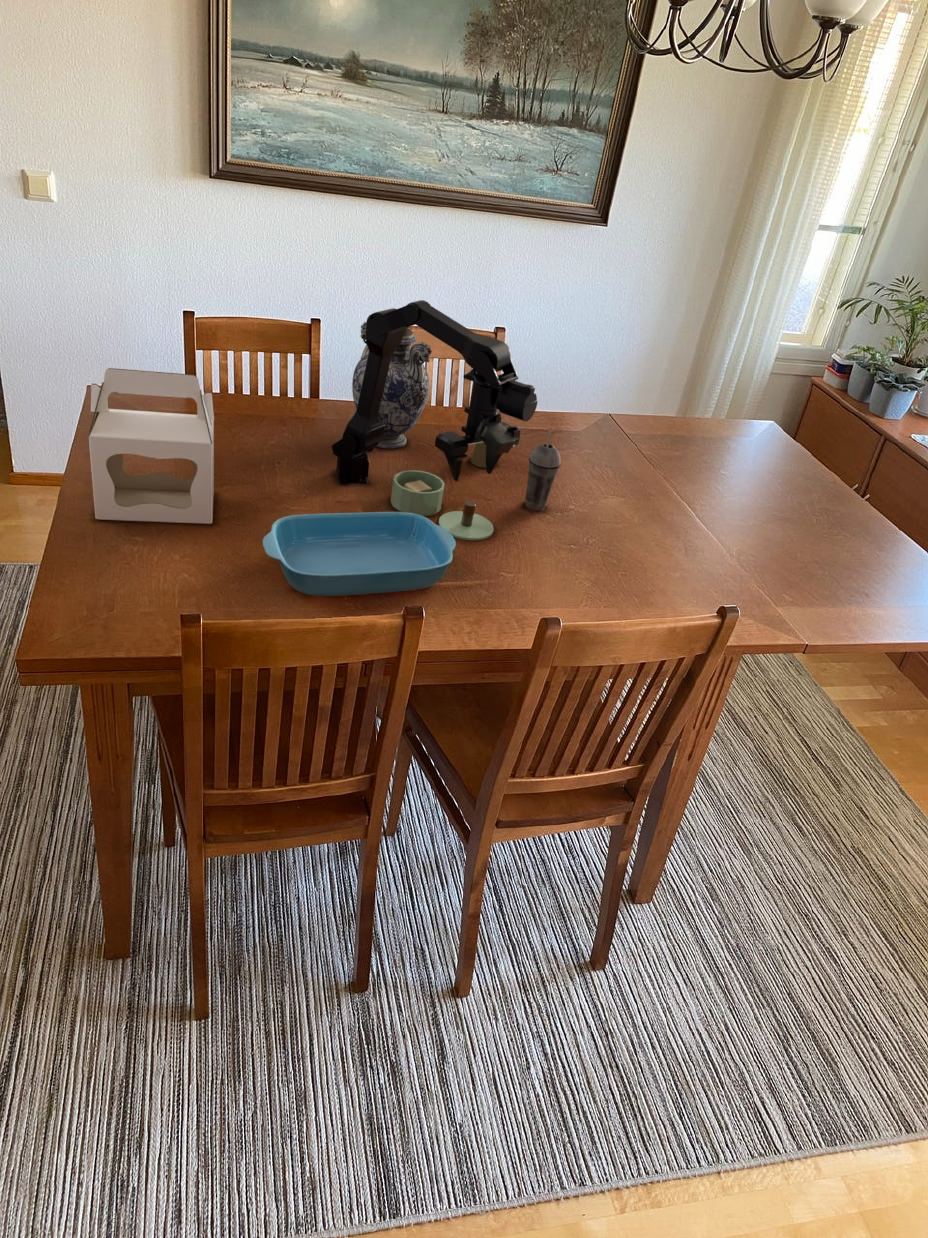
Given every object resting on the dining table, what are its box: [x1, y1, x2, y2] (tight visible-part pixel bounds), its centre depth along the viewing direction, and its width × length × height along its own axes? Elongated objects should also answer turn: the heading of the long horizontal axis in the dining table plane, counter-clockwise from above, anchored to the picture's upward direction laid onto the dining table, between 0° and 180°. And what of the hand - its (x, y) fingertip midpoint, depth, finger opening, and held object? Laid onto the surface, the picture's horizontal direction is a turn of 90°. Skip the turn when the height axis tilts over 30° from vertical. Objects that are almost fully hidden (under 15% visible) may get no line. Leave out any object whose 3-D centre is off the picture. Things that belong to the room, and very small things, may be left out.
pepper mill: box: [470, 442, 486, 469], centre depth 221 cm, size 6×6×11 cm
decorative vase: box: [351, 321, 433, 450], centre depth 218 cm, size 21×19×28 cm
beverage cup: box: [524, 427, 561, 512], centre depth 202 cm, size 7×7×20 cm
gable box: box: [88, 367, 215, 525], centre depth 172 cm, size 22×13×28 cm, turn 102°
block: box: [404, 480, 432, 492], centre depth 197 cm, size 4×4×4 cm
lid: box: [438, 500, 495, 541], centre depth 191 cm, size 12×12×6 cm
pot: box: [390, 469, 446, 517], centre depth 197 cm, size 11×11×6 cm
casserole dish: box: [262, 511, 457, 597], centre depth 170 cm, size 37×22×7 cm, turn 110°
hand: (472, 476), depth 186 cm, fingers open, 9 cm apart
